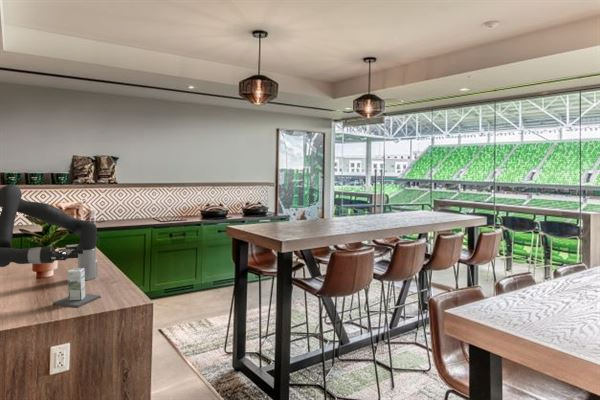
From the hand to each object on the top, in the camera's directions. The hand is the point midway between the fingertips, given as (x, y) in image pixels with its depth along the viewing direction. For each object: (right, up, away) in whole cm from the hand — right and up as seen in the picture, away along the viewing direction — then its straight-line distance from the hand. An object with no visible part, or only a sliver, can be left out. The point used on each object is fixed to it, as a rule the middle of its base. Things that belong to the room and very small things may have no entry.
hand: (80, 253), depth 184 cm
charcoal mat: (-2, -23, +1) cm, 23 cm away
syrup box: (-2, -22, +1) cm, 22 cm away
